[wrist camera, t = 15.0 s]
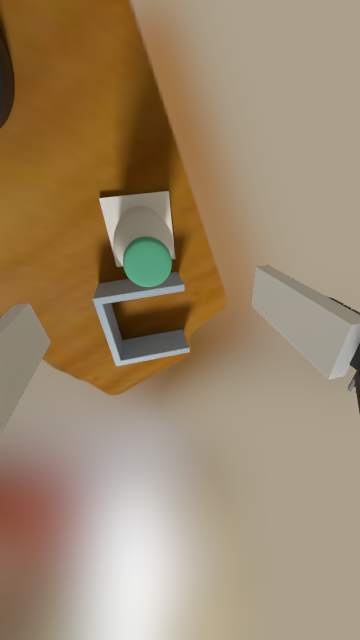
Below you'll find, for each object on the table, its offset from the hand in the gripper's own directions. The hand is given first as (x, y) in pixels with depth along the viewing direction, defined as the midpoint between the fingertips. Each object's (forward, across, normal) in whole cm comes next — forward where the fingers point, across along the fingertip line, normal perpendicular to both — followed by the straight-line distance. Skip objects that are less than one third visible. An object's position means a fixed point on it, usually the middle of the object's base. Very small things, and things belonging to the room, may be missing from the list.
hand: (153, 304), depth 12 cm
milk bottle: (+28, 0, 0) cm, 28 cm away
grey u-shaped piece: (+29, -2, -16) cm, 33 cm away
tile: (+29, 0, 0) cm, 29 cm away
